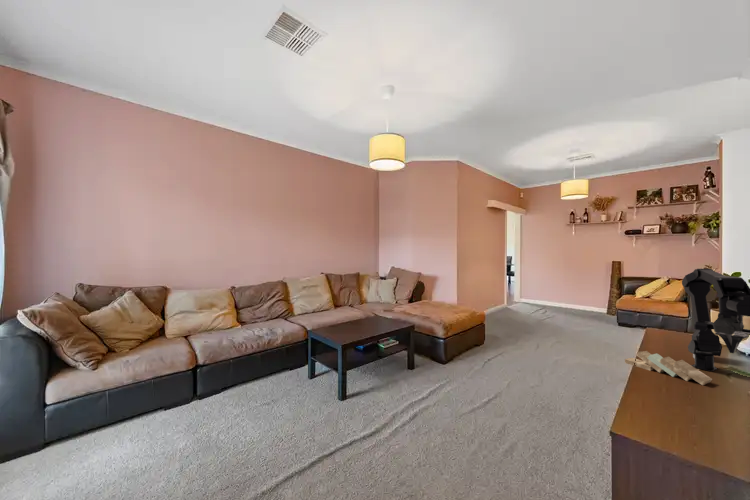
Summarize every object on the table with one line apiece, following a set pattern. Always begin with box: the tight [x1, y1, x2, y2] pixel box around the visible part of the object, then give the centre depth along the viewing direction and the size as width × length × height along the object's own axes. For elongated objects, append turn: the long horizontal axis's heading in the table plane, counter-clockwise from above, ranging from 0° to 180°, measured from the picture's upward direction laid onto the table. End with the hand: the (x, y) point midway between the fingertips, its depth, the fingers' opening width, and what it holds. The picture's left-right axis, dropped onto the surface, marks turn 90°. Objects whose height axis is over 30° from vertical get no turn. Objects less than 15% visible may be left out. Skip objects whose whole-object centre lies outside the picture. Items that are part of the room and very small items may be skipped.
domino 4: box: [659, 356, 693, 382], centre depth 126 cm, size 2×5×10 cm
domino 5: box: [673, 359, 713, 386], centre depth 122 cm, size 2×5×10 cm
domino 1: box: [624, 357, 656, 371], centre depth 138 cm, size 2×5×10 cm
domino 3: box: [647, 353, 679, 378], centre depth 130 cm, size 2×5×10 cm
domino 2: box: [636, 350, 666, 374], centre depth 134 cm, size 2×5×10 cm
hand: (732, 352), depth 115 cm, fingers closed
